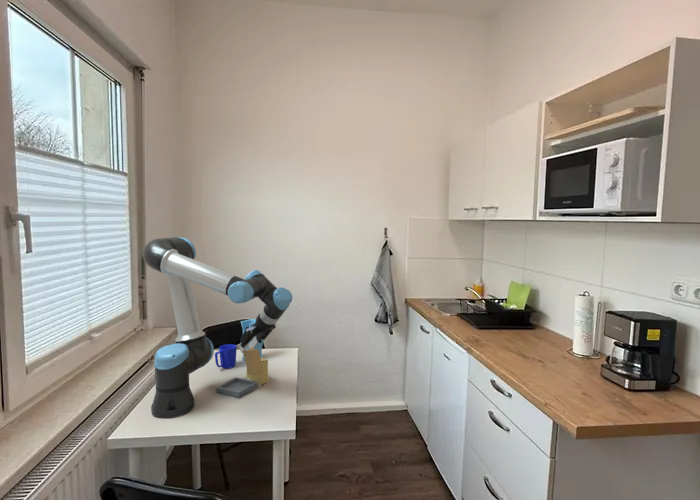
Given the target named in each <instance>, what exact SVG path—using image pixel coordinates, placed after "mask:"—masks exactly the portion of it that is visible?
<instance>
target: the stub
mask: <svg viewBox="0 0 700 500" xmlns="http://www.w3.org/2000/svg"><path fill="white" fill-rule="evenodd" d="M243 354H244V359H245V366H246V367H245V368H246V373H247V372H248V374H250V375H254V376H258V375H260V374H262V373H264V372H263V367H262V363H261V358H260V354H259V350H258V349H251V348H250V349H247V350H245V351H244V352H243V353H242V355H243Z"/></svg>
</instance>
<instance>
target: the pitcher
mask: <svg viewBox="0 0 700 500" xmlns="http://www.w3.org/2000/svg"><path fill="white" fill-rule="evenodd" d="M255 322H256V318H251V319H246V320H240V324H241V328H242V334H243V333H244V332H245V330H246V327H249V328H251V327H252V326H253V325H254V324H255ZM255 337H256V336H255ZM256 338H257V337H256ZM252 340H253V339H252ZM252 340H251V341H252ZM251 341H250V342H251ZM261 341H262V342H261V343H259V342H258V344H257V345H256V346H255V347H254V349H258V350H259V354H260V357H261V358H263V359H264V357H263V353H262V349H263V344H264V340H263V339H262V340H261ZM250 342H249V344H250ZM247 349H250V348H249V346H248V347H247V348H246V349H245V350H247ZM242 362H245V359H244V354H243V353H242Z"/></svg>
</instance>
